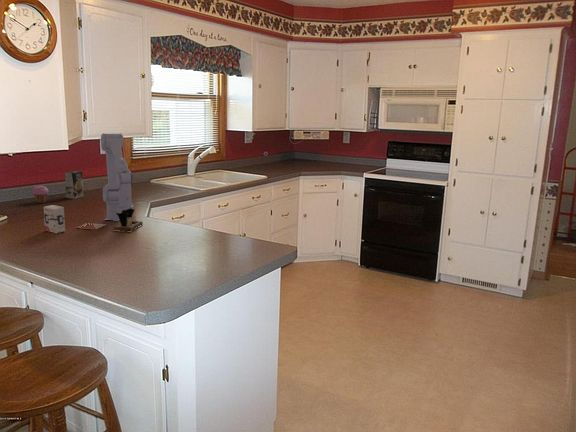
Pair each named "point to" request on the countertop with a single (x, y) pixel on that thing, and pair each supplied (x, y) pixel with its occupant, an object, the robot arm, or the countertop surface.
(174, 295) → the countertop surface
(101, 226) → the plate
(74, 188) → the coffee box
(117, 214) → the robot arm
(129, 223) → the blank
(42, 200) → the cupcake
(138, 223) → the shelf bay
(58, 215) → the ink box
